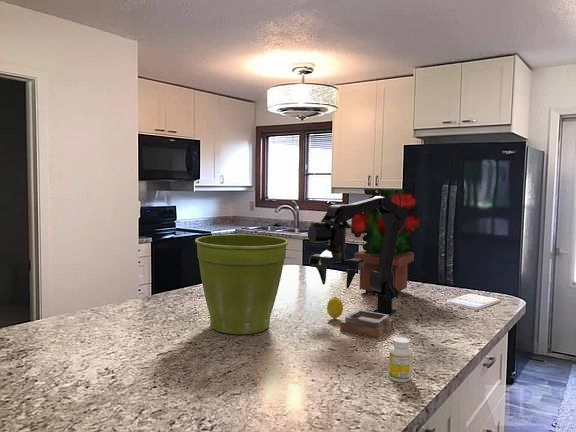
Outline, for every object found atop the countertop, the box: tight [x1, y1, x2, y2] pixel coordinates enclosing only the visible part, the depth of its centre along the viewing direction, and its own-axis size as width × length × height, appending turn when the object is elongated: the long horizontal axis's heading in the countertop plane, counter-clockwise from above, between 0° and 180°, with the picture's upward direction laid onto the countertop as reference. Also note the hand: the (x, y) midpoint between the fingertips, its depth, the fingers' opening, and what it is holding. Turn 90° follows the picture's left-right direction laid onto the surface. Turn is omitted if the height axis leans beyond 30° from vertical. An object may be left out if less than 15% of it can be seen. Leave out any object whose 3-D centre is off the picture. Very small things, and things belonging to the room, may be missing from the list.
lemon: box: [326, 296, 344, 320], centre depth 168 cm, size 6×6×8 cm
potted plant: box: [350, 188, 420, 296], centre depth 208 cm, size 22×22×45 cm
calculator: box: [446, 293, 500, 311], centre depth 196 cm, size 13×20×2 cm, turn 133°
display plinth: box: [339, 309, 394, 340], centre depth 157 cm, size 13×13×4 cm
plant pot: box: [194, 234, 289, 335], centre depth 156 cm, size 30×30×29 cm
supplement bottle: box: [388, 337, 413, 383], centre depth 118 cm, size 5×5×10 cm
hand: (335, 286), depth 167 cm, fingers open, 9 cm apart
